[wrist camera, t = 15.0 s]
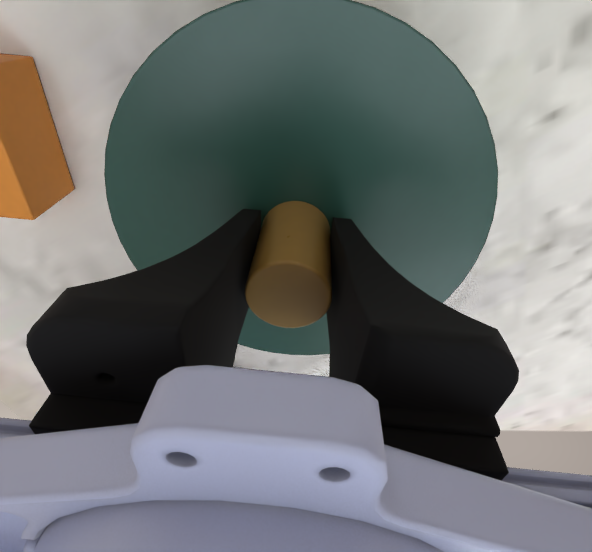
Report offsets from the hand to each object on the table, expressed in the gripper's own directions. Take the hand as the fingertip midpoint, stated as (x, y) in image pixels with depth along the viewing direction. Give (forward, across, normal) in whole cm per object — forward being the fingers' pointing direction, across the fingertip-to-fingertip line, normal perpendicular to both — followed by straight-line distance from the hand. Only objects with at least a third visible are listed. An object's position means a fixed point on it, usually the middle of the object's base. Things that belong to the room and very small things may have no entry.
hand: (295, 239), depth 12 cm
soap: (+6, +14, -1) cm, 15 cm away
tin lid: (+1, 0, 0) cm, 1 cm away
